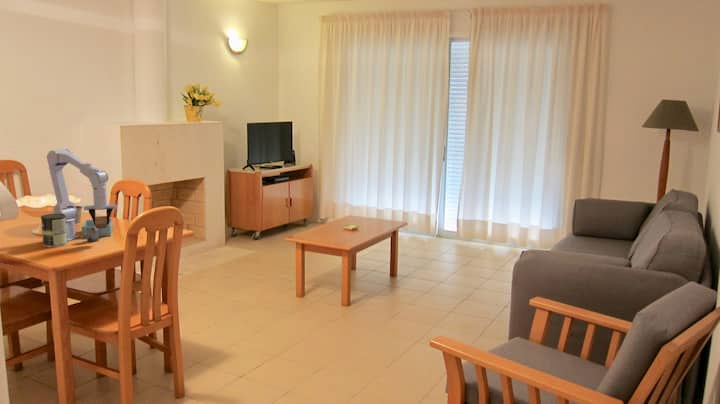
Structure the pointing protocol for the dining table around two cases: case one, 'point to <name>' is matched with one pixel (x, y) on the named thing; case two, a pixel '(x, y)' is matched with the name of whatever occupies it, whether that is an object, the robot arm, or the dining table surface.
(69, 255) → the dining table surface
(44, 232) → the coffee can
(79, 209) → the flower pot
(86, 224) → the tote
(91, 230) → the grey cylinder
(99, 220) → the walnut cube
